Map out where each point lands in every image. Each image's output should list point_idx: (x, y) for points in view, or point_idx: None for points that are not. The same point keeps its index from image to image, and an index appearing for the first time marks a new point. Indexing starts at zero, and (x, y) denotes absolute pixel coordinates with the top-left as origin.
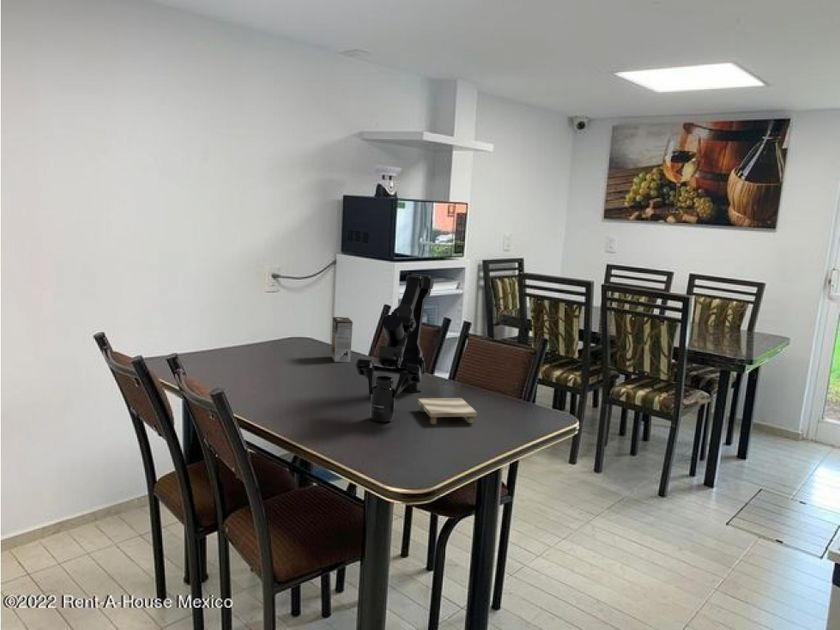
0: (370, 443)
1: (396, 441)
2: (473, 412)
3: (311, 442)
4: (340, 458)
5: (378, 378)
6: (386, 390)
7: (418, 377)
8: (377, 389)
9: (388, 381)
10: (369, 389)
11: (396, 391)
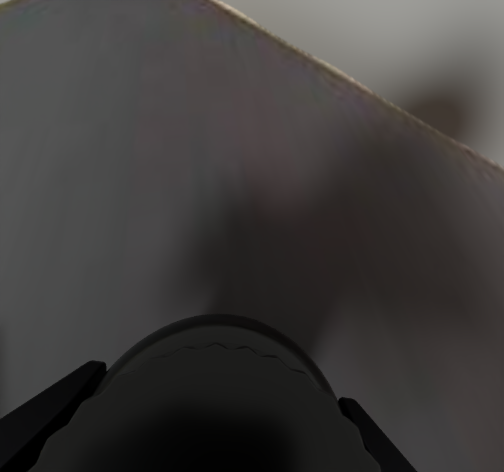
0: (231, 136)
1: (146, 160)
2: None
3: (386, 124)
4: (287, 57)
5: (338, 440)
6: (174, 343)
7: None
8: (280, 349)
9: (120, 374)
10: (374, 429)
11: (44, 399)
